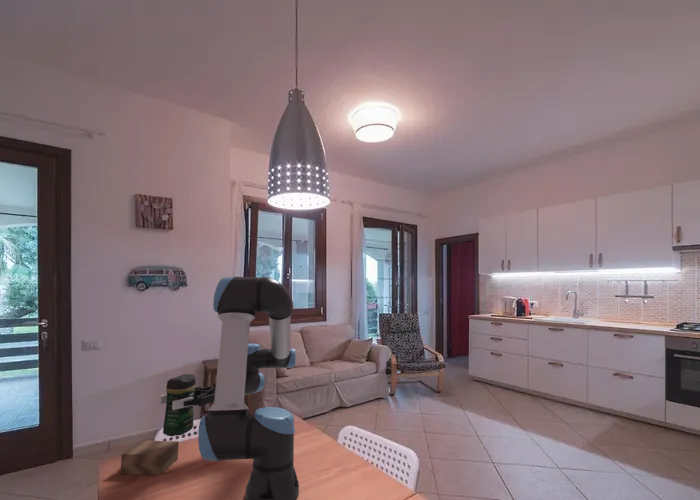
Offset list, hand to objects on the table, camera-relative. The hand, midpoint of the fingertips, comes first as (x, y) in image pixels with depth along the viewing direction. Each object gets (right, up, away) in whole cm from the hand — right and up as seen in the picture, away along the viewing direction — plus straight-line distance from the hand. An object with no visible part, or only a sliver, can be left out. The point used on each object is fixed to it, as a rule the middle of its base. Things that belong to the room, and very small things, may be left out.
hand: (166, 402), depth 123 cm
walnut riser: (-6, -21, 0) cm, 22 cm away
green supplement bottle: (+3, -11, +2) cm, 12 cm away
